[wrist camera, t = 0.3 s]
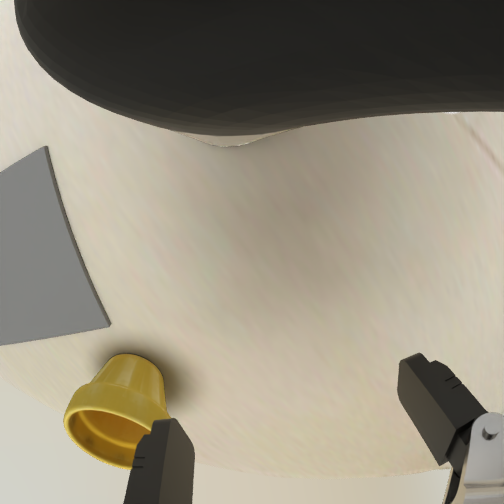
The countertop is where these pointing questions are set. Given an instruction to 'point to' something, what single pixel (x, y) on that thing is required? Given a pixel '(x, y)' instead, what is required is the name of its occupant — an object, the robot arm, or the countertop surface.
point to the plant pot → (116, 409)
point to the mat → (40, 259)
